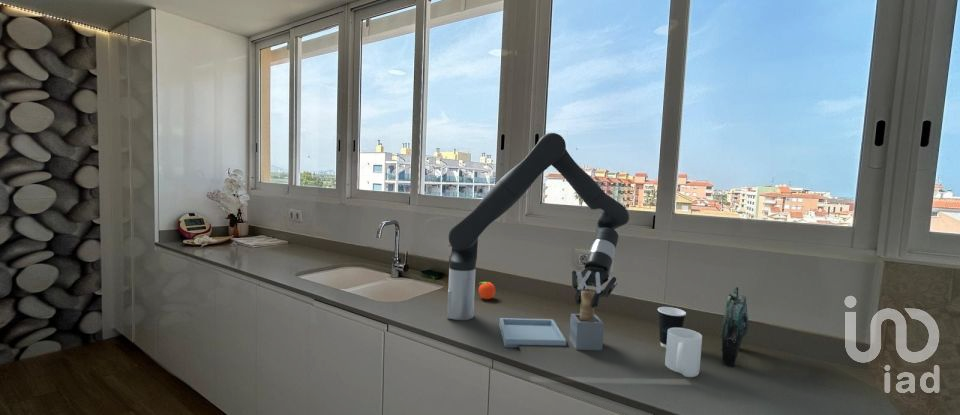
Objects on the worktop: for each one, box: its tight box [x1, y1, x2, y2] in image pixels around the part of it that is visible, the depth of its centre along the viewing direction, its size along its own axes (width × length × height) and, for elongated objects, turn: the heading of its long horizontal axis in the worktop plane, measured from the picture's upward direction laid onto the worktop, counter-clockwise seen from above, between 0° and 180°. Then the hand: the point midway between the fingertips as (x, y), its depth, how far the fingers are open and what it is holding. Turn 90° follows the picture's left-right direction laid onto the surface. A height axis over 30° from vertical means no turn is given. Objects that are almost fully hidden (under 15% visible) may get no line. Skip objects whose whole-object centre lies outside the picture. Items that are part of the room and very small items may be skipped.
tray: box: [498, 317, 567, 349], centre depth 131 cm, size 18×18×2 cm
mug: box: [664, 327, 703, 378], centre depth 109 cm, size 12×8×10 cm
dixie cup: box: [657, 306, 687, 349], centre depth 128 cm, size 8×8×11 cm
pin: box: [579, 289, 596, 322], centre depth 123 cm, size 4×4×16 cm
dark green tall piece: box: [721, 286, 749, 368], centre depth 122 cm, size 20×6×20 cm, turn 144°
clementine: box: [478, 281, 496, 300], centre depth 169 cm, size 8×7×7 cm
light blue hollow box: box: [568, 313, 605, 351], centre depth 123 cm, size 8×8×9 cm
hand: (585, 304), depth 121 cm, fingers open, 4 cm apart
